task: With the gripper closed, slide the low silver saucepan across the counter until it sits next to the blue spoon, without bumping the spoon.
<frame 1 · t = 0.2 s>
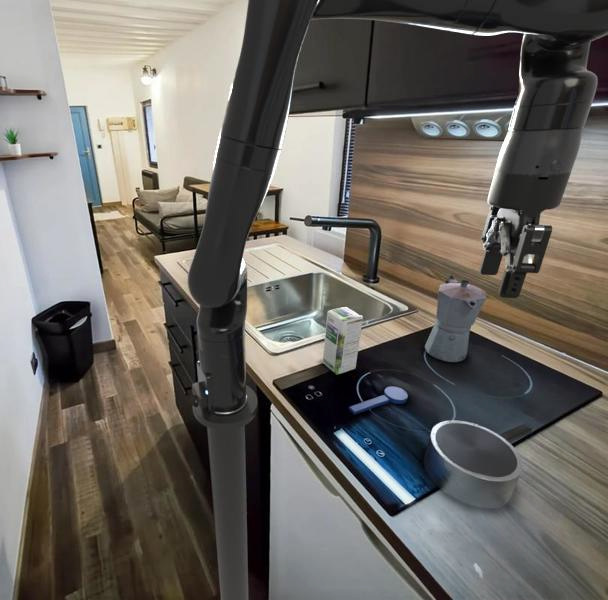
hand: (496, 284, 53), 31 cm above the worktop, tool pointing down, fingers open, 8 cm apart
saucepan: (465, 474, 60), on the worktop
moka pot: (443, 352, 91), on the worktop
spoon: (378, 402, 76), on the worktop
syrup box: (338, 366, 89), on the worktop
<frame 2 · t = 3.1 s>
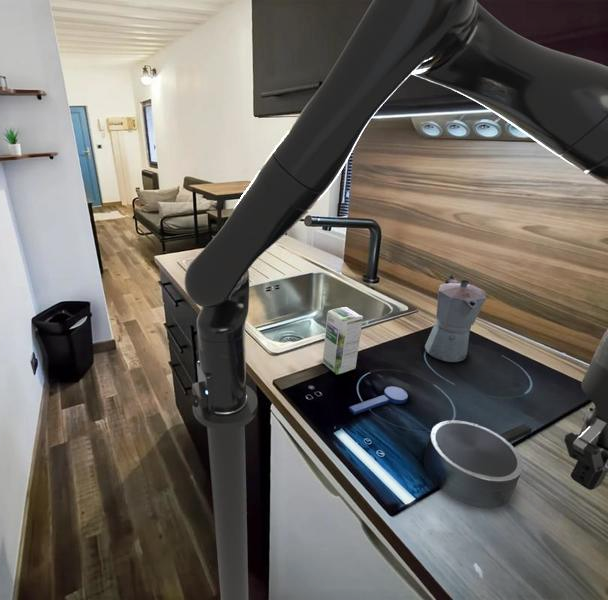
hand: (583, 482, 44), 12 cm above the worktop, tool pointing down, fingers closed
nothing on the worktop moved.
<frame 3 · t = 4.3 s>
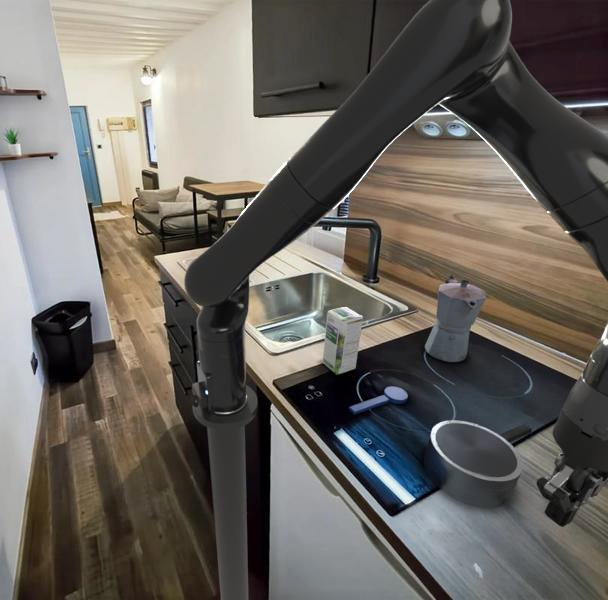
hand: (556, 518, 48), 5 cm above the worktop, tool pointing down, fingers closed
nothing on the worktop moved.
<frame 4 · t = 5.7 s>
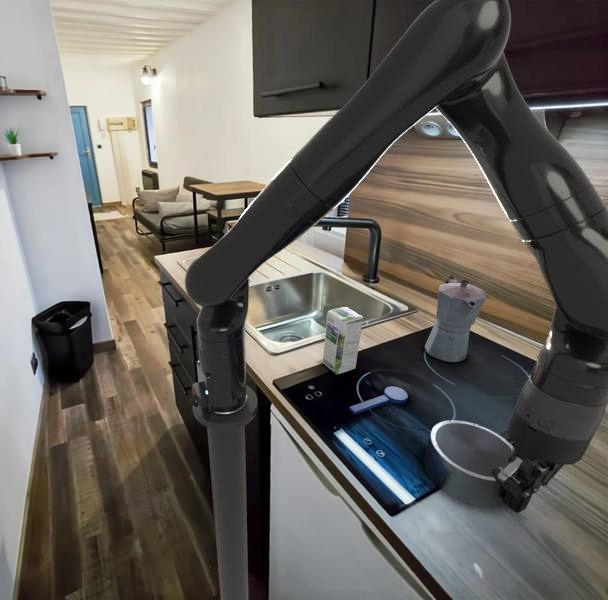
hand: (513, 506, 53), 1 cm above the worktop, tool pointing down, fingers closed
saucepan: (465, 474, 60), on the worktop, touching gripper
everything else where it was.
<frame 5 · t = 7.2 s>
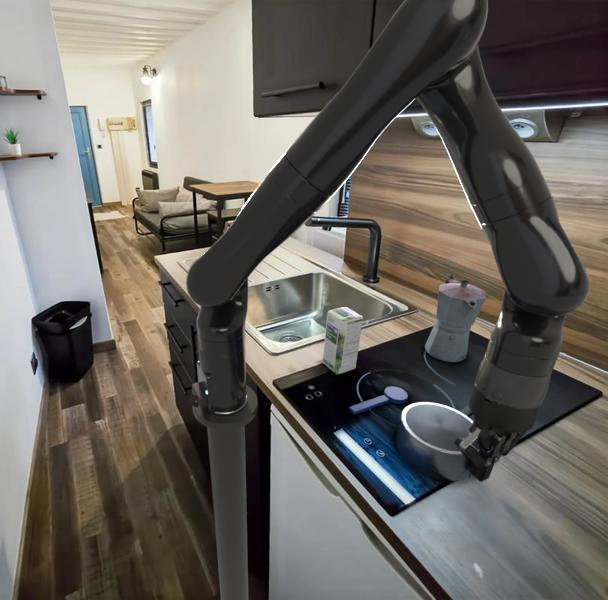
hand: (478, 475, 58), 2 cm above the worktop, tool pointing down, fingers closed
saucepan: (433, 451, 64), on the worktop, touching gripper
everything else where it was.
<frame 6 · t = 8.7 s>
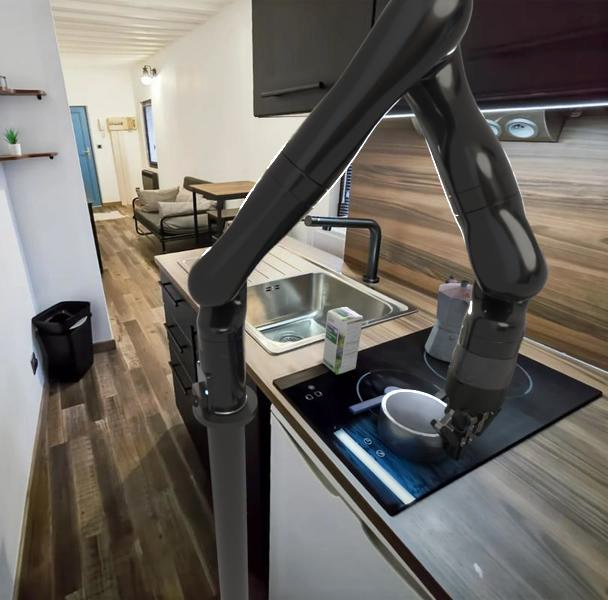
hand: (454, 456, 61), 2 cm above the worktop, tool pointing down, fingers closed
saucepan: (412, 435, 68), on the worktop, touching gripper, hand
everything else where it was.
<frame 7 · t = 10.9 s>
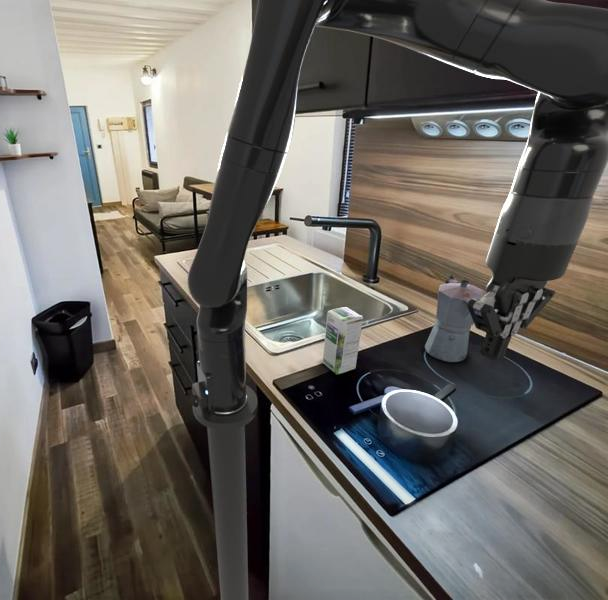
hand: (490, 356, 50), 23 cm above the worktop, tool pointing down, fingers closed
saucepan: (412, 435, 68), on the worktop
everything else where it was.
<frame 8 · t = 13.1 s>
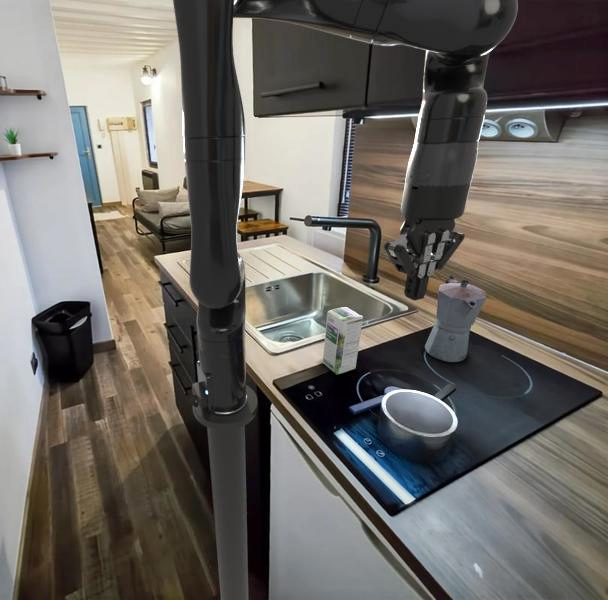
hand: (413, 297, 55), 29 cm above the worktop, tool pointing down, fingers closed
nothing on the worktop moved.
at the end: saucepan 9.5 cm from the spoon (horizontally); saucepan tilted 0°; spoon moved 0.0 cm from its start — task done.
